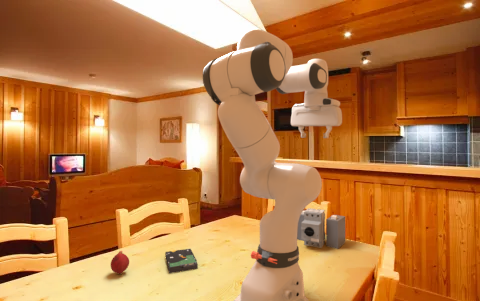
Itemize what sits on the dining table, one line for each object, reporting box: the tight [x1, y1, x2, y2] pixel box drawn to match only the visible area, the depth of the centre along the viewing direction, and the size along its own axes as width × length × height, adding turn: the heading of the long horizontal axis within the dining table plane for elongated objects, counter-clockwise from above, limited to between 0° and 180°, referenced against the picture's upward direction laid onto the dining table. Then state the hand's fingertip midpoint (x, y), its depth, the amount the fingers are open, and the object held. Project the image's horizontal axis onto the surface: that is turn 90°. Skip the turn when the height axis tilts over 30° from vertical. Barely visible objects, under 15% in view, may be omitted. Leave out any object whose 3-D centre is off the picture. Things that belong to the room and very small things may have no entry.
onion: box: [110, 250, 130, 275], centre depth 90 cm, size 6×6×8 cm
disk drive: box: [164, 248, 199, 274], centre depth 99 cm, size 10×3×15 cm
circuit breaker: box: [300, 207, 326, 249], centre depth 115 cm, size 8×14×15 cm, turn 151°
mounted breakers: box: [297, 209, 346, 250], centre depth 122 cm, size 10×20×13 cm, turn 51°
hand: (314, 137), depth 102 cm, fingers open, 8 cm apart
